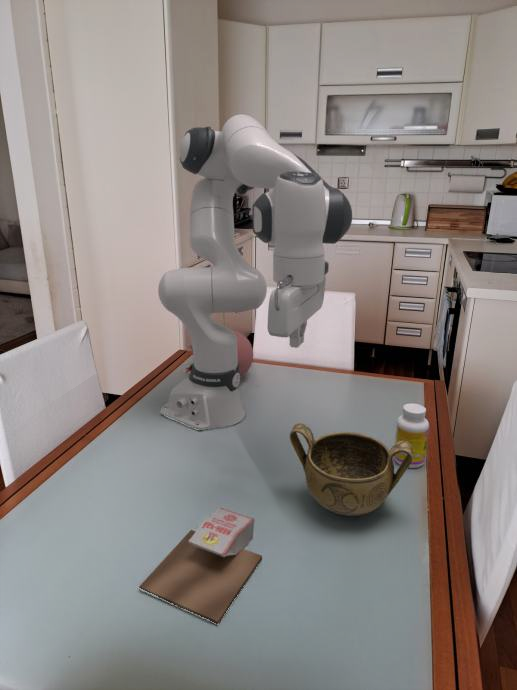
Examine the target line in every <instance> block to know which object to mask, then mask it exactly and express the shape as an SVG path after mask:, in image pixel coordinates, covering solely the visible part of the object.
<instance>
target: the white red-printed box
mask: <svg viewBox="0 0 517 690" xmlns="http://www.w3.org/2000/svg"><path fill="white" fill-rule="evenodd" d="M254 529H255V518H252V517H250V516H246V515H243V514H241V513H238V512H235V511H232V510H229V509H226V508H224V507H220V508H219V509H218V510H216V511H214V513H212V514H211V515H210V516H208V517H207V518H206V519H204V520H203V521H202V522H201V524H200V525H199V526H198V528H197V529H196V531H195V534H194V535H193V536H192V537H191V539H190V540H189V542H190V543H189V544H191V545H194V546H197V547H199V548H202V549H204V550H207V551H209V552H212V553H215V554H217V555H220V556H222V557H225V556H228V555H236V554H237V553H238V552H239V551H240V550H241V549H244V548H245V547H246V546H247V545H248V544H249V543H250V542H251V541H252V540H253V539H254Z"/></svg>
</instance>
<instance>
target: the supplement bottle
mask: <svg viewBox="0 0 517 690" xmlns="http://www.w3.org/2000/svg"><path fill="white" fill-rule="evenodd" d="M426 414H427V408H426V407H424V406H423V405H421V404H418V403H412V402H411V403H406V404H404V405H403V407H402V414H401V415H399V416H398V418H397V421H396V426H395V427H396V430H395V438H394V439H395V440H394V445H395V444H396V443H397V442H400V441H407V442H408V443H410V444H411V446H412V448H413V452H412V462H411V464H410V465H409V467H408V468H407V469H409V468H410V469H417V468H420V467H422V466H423V465H424V464H425V463H426V457H427V456H426V455H427V446H428V438H429V430H430V422H429V421H428V419H427V418H425V416H426ZM407 455H408V454H406V453H405V452H400V453H398V454H396V455H395V456H394V457H393V459H394V461H395V462H396V463H397V464H398V465H399V466H400V465H401V464H402V462H403V461H404V459H405V458H406V456H407Z"/></svg>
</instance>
